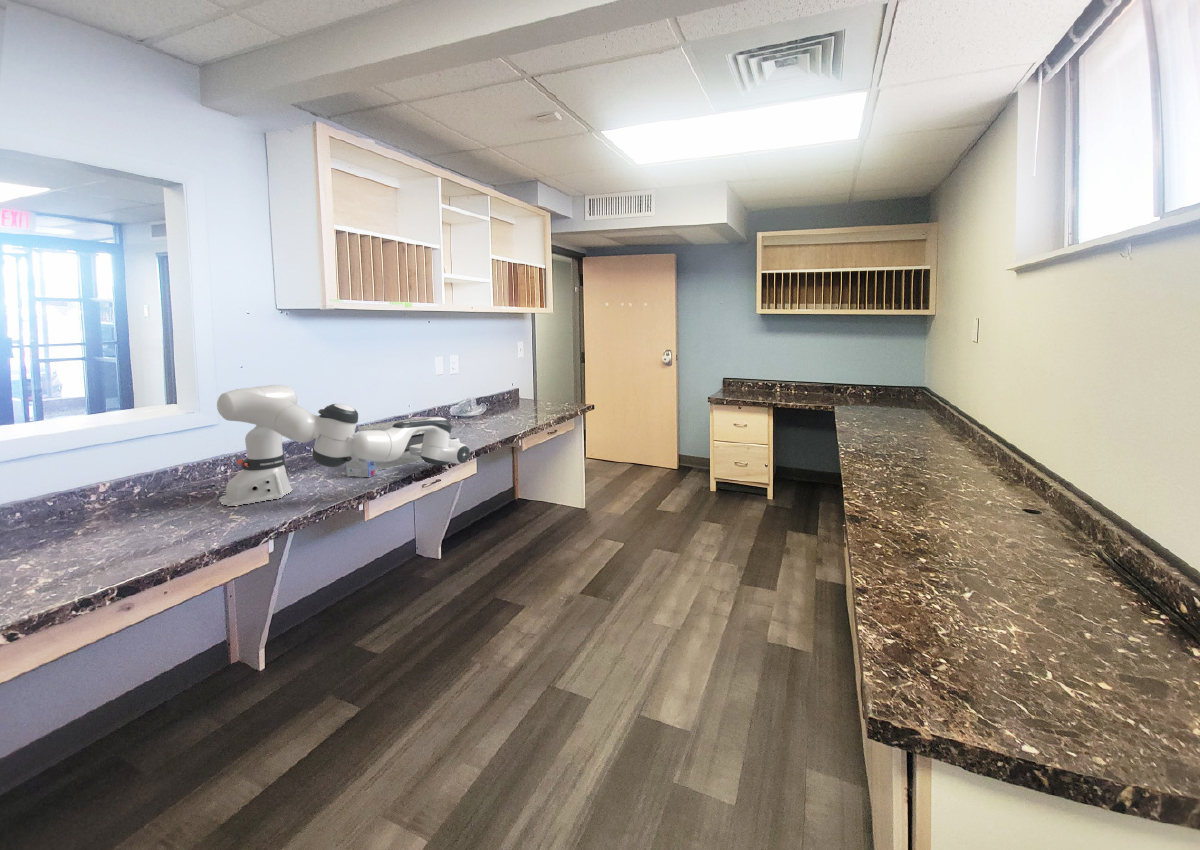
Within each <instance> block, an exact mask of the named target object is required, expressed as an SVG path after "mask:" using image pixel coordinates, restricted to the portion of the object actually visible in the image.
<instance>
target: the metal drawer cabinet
mask: <svg viewBox="0 0 1200 850" xmlns="http://www.w3.org/2000/svg"><path fill="white" fill-rule="evenodd" d="M418 417H419V418H413V419H410V418H407V419H402V420H394V421H388V422H380V423H375V424H368V425H367V424H366V425H362V426H358V429H357V430H358V432H360V431H367V430H381V431H385V430H388V429H389V428H391V427H392V426H393V425H394V424H395V423H398V422H403V421H411V420H422V419H428V418H427V417H428V416H418ZM417 434H424V431H418V432H415V433H414V434H413V435H417ZM419 461H423V459H422V458H421V456H416V455H411V454H410V452H409V449H407V450H405V451H404V452H403V454H402V455H401V456H400V457H399V458H398V459H396V460H394V461H389V462H376V461H375V469H376V471H377V470H382V469H386V468H391V467H395V466H400V465H405V466H407V465H406V464H410V463H414V462H419ZM419 463H420V462H419ZM414 464H415V463H414ZM410 465H411V464H410ZM400 467H401V466H400ZM391 469H392V468H391ZM386 470H387V469H386ZM382 471H383V470H382ZM377 472H378V471H377Z"/></svg>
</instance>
